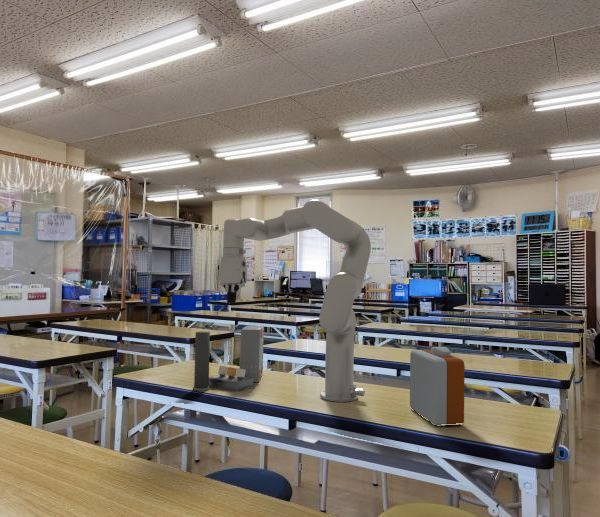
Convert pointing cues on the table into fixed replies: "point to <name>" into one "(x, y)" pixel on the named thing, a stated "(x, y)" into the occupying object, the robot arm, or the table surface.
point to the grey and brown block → (437, 385)
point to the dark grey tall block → (202, 361)
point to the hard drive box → (252, 351)
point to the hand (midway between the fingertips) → (231, 302)
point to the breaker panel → (230, 382)
